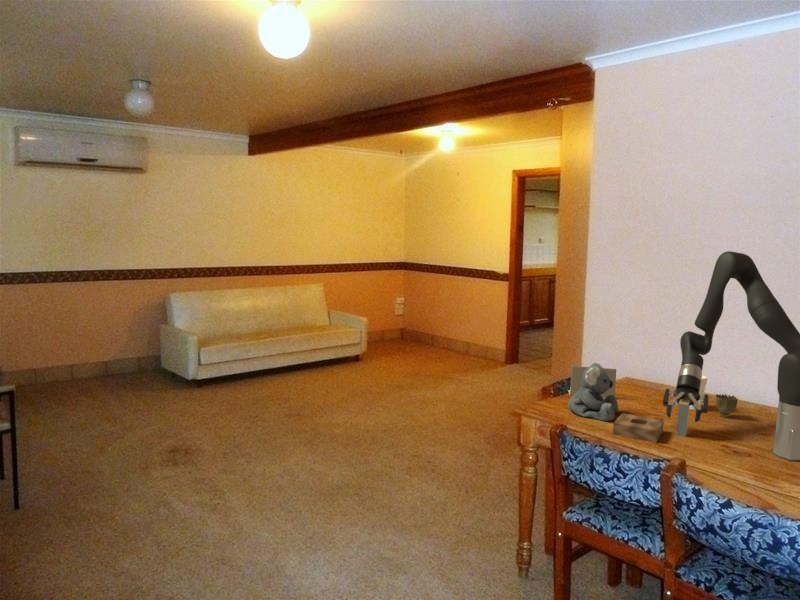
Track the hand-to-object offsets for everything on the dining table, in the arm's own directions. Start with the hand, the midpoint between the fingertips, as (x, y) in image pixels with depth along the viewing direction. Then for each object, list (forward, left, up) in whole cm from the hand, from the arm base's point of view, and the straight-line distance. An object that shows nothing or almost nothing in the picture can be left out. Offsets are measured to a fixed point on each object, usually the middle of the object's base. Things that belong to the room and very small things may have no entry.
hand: (682, 418), depth 212 cm
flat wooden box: (+1, +14, -6) cm, 16 cm away
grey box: (+52, +16, -7) cm, 55 cm away
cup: (+25, -28, -6) cm, 38 cm away
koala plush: (+22, +24, -6) cm, 33 cm away
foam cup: (+36, -20, -6) cm, 42 cm away
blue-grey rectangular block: (+1, -1, -6) cm, 6 cm away
